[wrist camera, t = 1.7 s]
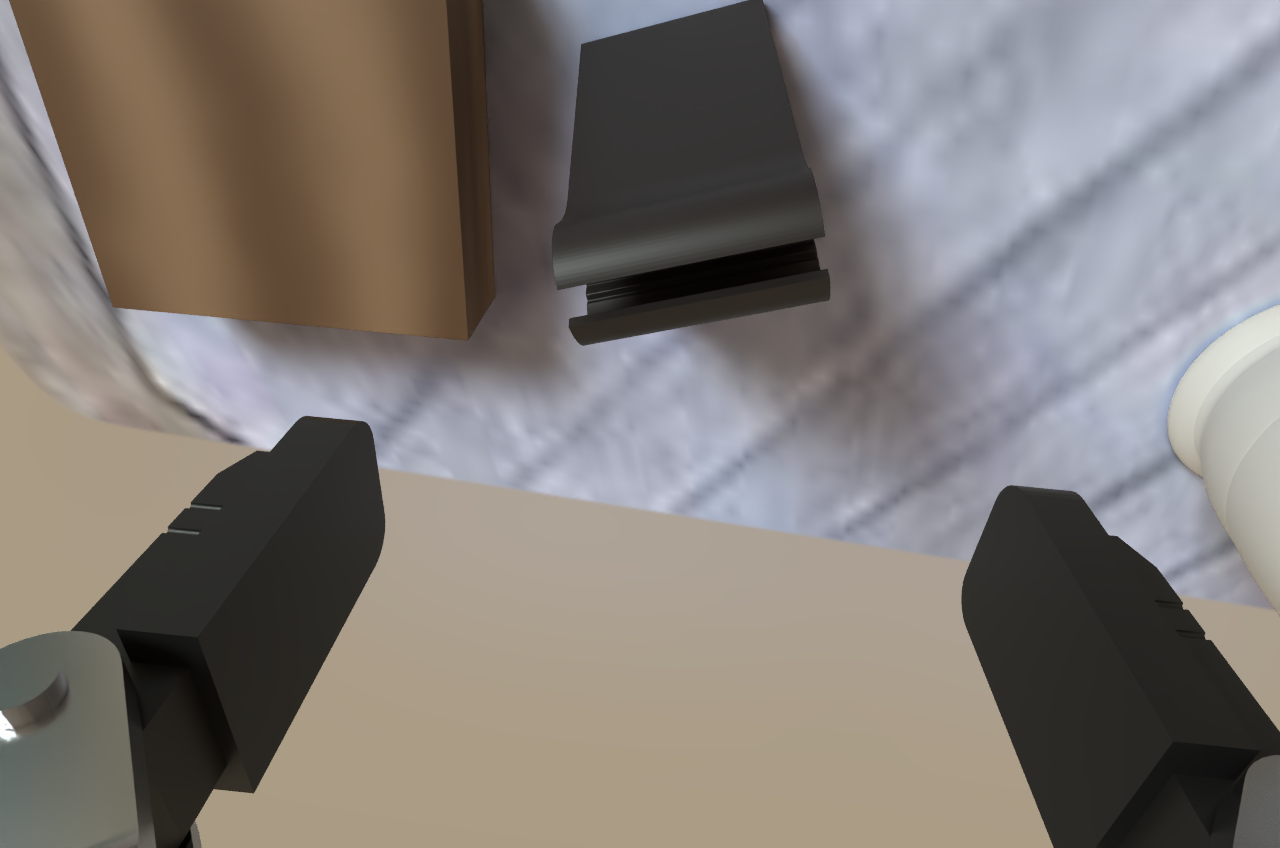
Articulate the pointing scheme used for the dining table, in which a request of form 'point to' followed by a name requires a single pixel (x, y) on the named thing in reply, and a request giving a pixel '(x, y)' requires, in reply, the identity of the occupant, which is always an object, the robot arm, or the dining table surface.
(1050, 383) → the dining table surface
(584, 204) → the phone stand
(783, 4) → the dining table surface
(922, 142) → the dining table surface
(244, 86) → the walnut plinth
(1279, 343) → the jar
